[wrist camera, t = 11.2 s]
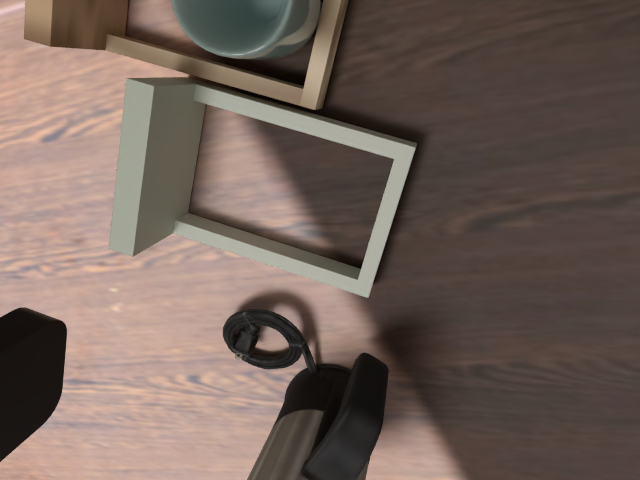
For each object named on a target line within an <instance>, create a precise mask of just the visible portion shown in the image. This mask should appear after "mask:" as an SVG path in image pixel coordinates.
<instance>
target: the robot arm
mask: <svg viewBox="0 0 640 480" xmlns="http://www.w3.org/2000/svg"><path fill="white" fill-rule="evenodd" d="M66 339H67V328H66V325H65V323H64V322H62V321H61V320H58V319H55V318H52V317H50V316H47V315H44V314H42V313H39V312H36V311H33V310H31V309H28V308H18V309H15V310H13V311H11V312H10V313H8V314H6V315H4V316H2V317H0V462H1V461H2V460H3V459H4V458H5V457H6V456H7V455H9V454H10V453H11V452H12V451H13V450H14V449H15V448H17V447H18V446H19V445H20V444H21V443H22V442H23V441H25V440H26V439H27V438H28V437H29V436H30V435H32V434H33V433H34V432H35V431H36V430H37V429H38V428H40V427H41V426H42V425H43V424H44V423H45V422H46V421H47V420H48V418H49V417H50V416H51V414H52V413H53V411H54V410H55V408H56V406H57V404H58V402H59V400H60V397H61V393H62V387H63V375H64V363H65V351H66Z"/></svg>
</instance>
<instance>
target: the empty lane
mask: <svg viewBox="0 0 640 480" xmlns="http://www.w3.org/2000/svg"><path fill="white" fill-rule="evenodd" d="M206 104H208V105H211V106H215V107H218V108H221V109H225V110H228V111H232V112H235V113H239V114H242V115H245V116H249V117H252V118H256V119H259V120H263V121H266V122H269V123H273V124H276V125H280V126H283V127H287V128H290V129H293V130H297V131H300V132H304V133H307V134H310V135H314V136H317V137H321V138H324V139H328V140H331V141H334V142H338V143H341V144H345V145H348V146H352V147H355V148H358V149H362V150H365V151H369V152H372V153H375V154H379V155H382V156H386V157H389V158H393V159H394V162H393V166H392V169H391V172H390V175H389V179H388V182H387V185H386V189H385V192H384V195H383V199H382V202H381V205H380V208H379V212H378V215H377V218H376V222H375V225H374V228H373V231H372V235H371V238H370V241H369V245H368V248H367V251H366V254H365V258H364V261H363V264H362V268H361V269H360V268H356V267H353V266H350V265H347V264H344V263H341V262H338V261H335V260H332V259H329V258H326V257H323V256H319V255H316V254H313V253H310V252H307V251H304V250H301V249H298V248H295V247H292V246H289V245H286V244H282V243H279V242H276V241H273V240H270V239H267V238H264V237H261V236H258V235H255V234H252V233H249V232H245V231H242V230H239V229H236V228H233V227H230V226H227V225H224V224H221V223H218V222H215V221H211V220H208V219H205V218H202V217H199V216H196V215H193V214H190V213H188V210H189V204H190V198H191V192H192V186H193V180H194V174H195V167H196V161H197V155H198V149H199V143H200V137H201V131H202V124H203V118H204V112H205V106H206ZM416 146H417V143H414V142H411V141H407V140H404V139H400V138H397V137H393V136H390V135H386V134H383V133H379V132H376V131H372V130H369V129H365V128H362V127H358V126H355V125H351V124H348V123H344V122H341V121H337V120H334V119H330V118H327V117H323V116H320V115H316V114H313V113H309V112H306V111H302V110H299V109H295V108H292V107H288V106H285V105H281V104H278V103H274V102H271V101H267V100H264V99H260V98H257V97H253V96H250V95H246V94H243V93H240V92H236V91H233V90H229V89H226V88H222V87H219V86H215V85H212V84H208V83H205V82H201V81H198V80H194V79H191V78H187V77H173V78H127V80H126V89H125V98H124V108H123V117H122V126H121V136H120V145H119V155H118V164H117V173H116V183H115V192H114V201H113V211H112V220H111V229H110V239H109V248H108V249H111V250H114V251H117V252H120V253H123V254H126V255H129V256H132V257H133V256H135V255H137V254H138V253H140V252H142V251H143V250H145V249H147V248H149V247H150V246H152V245H154V244H155V243H157V242H159V241H160V240H162V239H164V238H166V237H167V236H169V235H171V234H172V233H174V234H177V235H180V236H183V237H186V238H189V239H192V240H195V241H198V242H201V243H204V244H207V245H210V246H213V247H216V248H219V249H222V250H225V251H228V252H231V253H234V254H237V255H240V256H243V257H246V258H249V259H252V260H255V261H258V262H261V263H264V264H267V265H270V266H273V267H276V268H279V269H282V270H285V271H288V272H291V273H294V274H297V275H300V276H303V277H306V278H309V279H312V280H315V281H318V282H321V283H325V284H328V285H331V286H334V287H337V288H340V289H343V290H346V291H349V292H352V293H355V294H358V295H361V296H364V297H367V298H368V297H369V294H370V291H371V288H372V285H373V282H374V278H375V275H376V272H377V269H378V266H379V263H380V260H381V256H382V253H383V250H384V247H385V244H386V241H387V237H388V234H389V231H390V228H391V225H392V222H393V218H394V215H395V212H396V209H397V206H398V203H399V199H400V196H401V193H402V190H403V187H404V184H405V181H406V177H407V174H408V171H409V168H410V165H411V162H412V158H413V155H414V152H415V149H416Z"/></svg>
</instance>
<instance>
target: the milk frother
mask: <svg viewBox="0 0 640 480" xmlns="http://www.w3.org/2000/svg"><path fill="white" fill-rule="evenodd" d="M260 325H264V326H268V327H271V328H273V329H276V330H277V331H279V332H280V333H281V334H282V335H283V336H284V337H285V338H286V340H287V342H288V343H289V350H288V351H287V352H286V353H284V354H282V355H280V356H270V357H269V356H261V355H257V354H254V353H252V352H253V350H254V348H255V345H256V343H257V341H258V335H257V334H258V332H259V329H260V327H259V326H260ZM240 327H242V329H240V330H239V332H238V334H237V335H236V332H237V330H238V329H239V328H240ZM223 337H224V340H225V342H226V344H227V346H228V347H229V349H230V350H231V351H232V352H233V353H235V354H236V355H235V358H236V359H240V358H242V360H243V361H245V362H248V363H249V364H251V365H254V366H257V367H259V368H263V369H278V368H285V367H288V366H291V365H292V364H294V363H295V362H296V361H297V360H298V359H299V358H300V356H301V354H303V355H304V358H305V361H306V364H307V367H308V369H306V370H304V371H302V372H301V373H299V374H298V375H297V376H296V377H295V378H294V379H293V380H292V381H291V382H290V384H289V386H288V388H287V390H286V395H285V401H284V404H283V406H282V408H281V411H280V413H279V415H278V417H277V420H276V422H275V424H274V426H273V428H272V430H271V432H270V434H269V436H268V438H267V440H266V442H265V444H264V446H263V448H262V450H261V453H260V455H259V457H258V459H257V461H256V463H255V465H254V467H253V469H252V471H251V473H250V475H249V477H248V479H247V480H365V479H366V474H367V468H368V464H369V460H370V456H371V453H372V451H373V449H374V447H375V445H376V442H377V440H378V437H379V435H380V431H381V428H382V425H383V417H384V407H385V399H386V390H387V382H388V372H389V370H388V367H387V366H386V365H385V364H384V363H382V362H381V361H380V360H378V359H377V358H375V357H373V356H372V355H370V354H367V353H362V354H360V355H359V357H358V358H357V359H356V361H355V363H354V365H353V369H352V371H350V370H347V369H345V368H342V367H338V366H332V365H320V366H316V365H315V363H314V360H313V357H312V354H311V352H310V350H309V347H308V345H307V343H306V341H305V339H304V337H303V336H302V334H301V332H300V331H299V330H298V328H297V327H296V326H295V325H293V324H292V323H291V322H290V321H289V320H287V319H286V318H284V317H283V316H281V315H279V314H276V313H274V312H271V311H267V310H261V309H251V310H244V311H240V312H237V313H235V314H233V315H232V316H230V317H229V318H228V320H227V321H226V323H225V325H224V327H223Z"/></svg>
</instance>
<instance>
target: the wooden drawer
mask: <svg viewBox="0 0 640 480" xmlns="http://www.w3.org/2000/svg"><path fill="white" fill-rule="evenodd" d="M128 1H129V0H25V26H24V39H26V40H29V41H33V42H36V43H40V44H43V45H47V46H51V47H65V48H80V49H95V50H106V51H110V52H113V53H117V54H120V55H124V56H127V57H131V58H134V59H138V60H141V61H145V62H148V63H152V64H155V65H159V66H162V67H166V68H169V69H173V70H176V71H180V72H183V73H187V74H190V75H194V76H197V77H201V78H204V79H208V80H211V81H215V82H218V83H222V84H225V85H229V86H233V87H236V88H240V89H243V90H247V91H250V92H254V93H257V94H261V95H264V96H268V97H271V98H275V99H278V100H282V101H285V102H289V103H292V104H296V105H299V106H303V107H306V108H310V109H313V110H317V109H321V108H322V107H323V103H324V99H325V95H326V91H327V87H328V83H329V79H330V74H331V70H332V66H333V62H334V58H335V54H336V50H337V46H338V42H339V37H340V33H341V29H342V25H343V21H344V17H345V13H346V9H347V5H348V0H324V1H323V5H322V9H321V14H320V18H319V23H318V27H317V31H316V36H315V40H314V45H313V49H312V53H311V58H310V62H309V67H308V71H307V75H306V80H305V84H304V86H302V85H298V84H294V83H291V82H287V81H284V80H280V79H277V78H273V77H269V76H266V75H262V74H259V73H255V72H251V71H248V70H244V69H241V68H237V67H234V66H230V65H226V64H223V63H219V62H216V61H212V60H209V59H205V58H201V57H198V56H194V55H191V54H187V53H184V52H180V51H176V50H173V49H169V48H166V47H162V46H158V45H155V44H151V43H148V42H144V41H141V40H137V39H133V38H130V37H126V36H125V30H126V20H127V11H128Z"/></svg>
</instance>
